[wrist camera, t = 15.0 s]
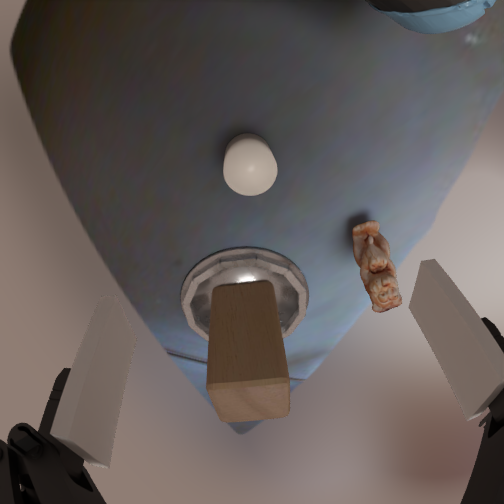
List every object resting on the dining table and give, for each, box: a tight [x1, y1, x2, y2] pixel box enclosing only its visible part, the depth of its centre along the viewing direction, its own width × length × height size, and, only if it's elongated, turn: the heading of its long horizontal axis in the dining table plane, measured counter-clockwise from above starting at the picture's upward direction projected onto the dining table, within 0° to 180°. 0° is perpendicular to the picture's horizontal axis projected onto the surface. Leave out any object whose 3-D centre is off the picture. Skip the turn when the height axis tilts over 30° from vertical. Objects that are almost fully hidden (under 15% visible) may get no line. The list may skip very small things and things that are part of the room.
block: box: [206, 281, 290, 422], centre depth 44 cm, size 10×10×20 cm
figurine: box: [352, 221, 402, 313], centre depth 41 cm, size 6×8×15 cm
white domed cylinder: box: [223, 133, 277, 196], centre depth 36 cm, size 6×6×7 cm
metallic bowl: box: [181, 247, 309, 342], centre depth 52 cm, size 22×22×2 cm
